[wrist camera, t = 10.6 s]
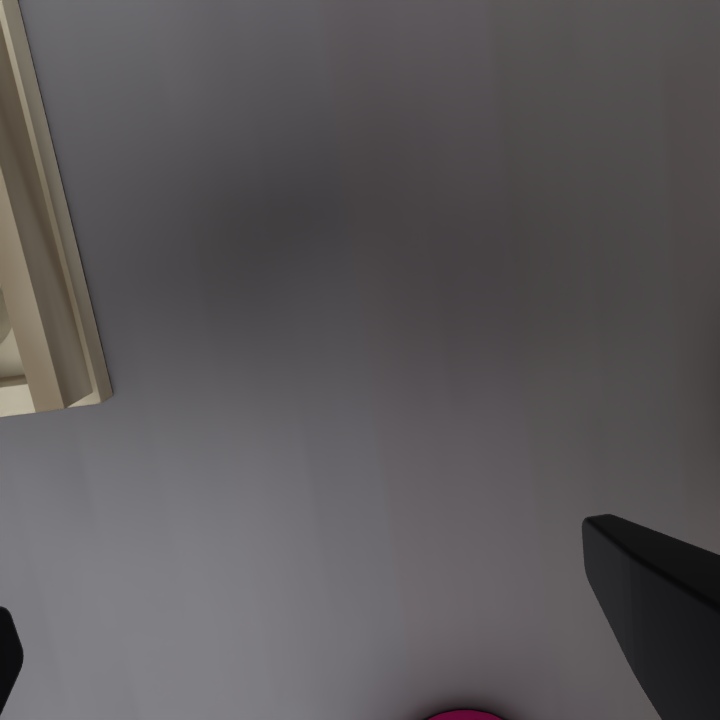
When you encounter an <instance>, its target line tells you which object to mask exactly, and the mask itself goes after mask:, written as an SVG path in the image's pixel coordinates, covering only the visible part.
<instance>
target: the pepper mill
mask: <svg viewBox="0 0 720 720" xmlns="http://www.w3.org/2000/svg"><path fill="white" fill-rule="evenodd" d="M428 720H502V719H500V718H498V717H496V716H494V715H492V714H489V713H484V712H479V711H474V710H456V711H451V712H446V713H441V714H438V715H436V716H434V717H432V718H430V719H428Z"/></svg>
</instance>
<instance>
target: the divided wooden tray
mask: <svg viewBox="0 0 720 720" xmlns="http://www.w3.org/2000/svg"><path fill="white" fill-rule="evenodd" d="M0 285H1V289H2V292H3V296H4V300H5V303H6V307H7V310H8V314H9V318H10V321H11V325H12V328H11V330H10V332H9V334H8V335H7V337H6V338H5V339H4V341H3V342H2V343H1V344H0V417H4V416H12V415H20V414H27V413H35V412H43V411H51V410H59V409H65V408H67V407H75V406H82V405H90V404H98V403H102V402H104V401H105V400H107V399H108V398H110V397H112V396H113V393H112V389H111V384H110V380H109V376H108V372H107V368H106V364H105V360H104V356H103V351H102V347H101V343H100V339H99V335H98V331H97V327H96V322H95V318H94V314H93V310H92V306H91V302H90V298H89V293H88V289H87V285H86V281H85V277H84V273H83V269H82V264H81V260H80V256H79V252H78V248H77V244H76V240H75V236H74V231H73V227H72V223H71V219H70V215H69V211H68V207H67V202H66V198H65V194H64V190H63V186H62V182H61V178H60V173H59V169H58V165H57V161H56V157H55V153H54V149H53V145H52V140H51V136H50V132H49V128H48V124H47V120H46V116H45V111H44V107H43V103H42V99H41V95H40V91H39V87H38V82H37V78H36V74H35V70H34V66H33V62H32V58H31V53H30V49H29V45H28V41H27V37H26V33H25V29H24V25H23V20H22V16H21V12H20V8H19V4H18V0H0Z"/></svg>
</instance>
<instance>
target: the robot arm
mask: <svg viewBox="0 0 720 720" xmlns="http://www.w3.org/2000/svg"><path fill="white" fill-rule="evenodd" d="M582 538H583V553H584V566H585V571H586V575H587V578H588V581H589V583H590V585H591V587H592V589H593V591H594V593H595V595H596V598H597V600H598V602H599V604H600V606H601V608H602V610H603V612H604V614H605V616H606V618H607V620H608V622H609V624H610V626H611V628H612V630H613V632H614V634H615V636H616V639H617V641H618V643H619V645H620V647H621V649H622V651H623V653H624V655H625V657H626V659H627V661H628V663H629V665H630V667H631V669H632V671H633V673H634V675H635V676H636V678H637V680H638V681H639V683H640V685H641V687H642V688H643V690H644V692H645V693H646V695H647V696H648V698H649V700H650V701H651V703H652V705H653V706H654V708H655V709H656V711H657V713H658V714H659V716H660V717H661V719H662V720H720V555H718V554H715V553H713V552H710V551H707V550H705V549H702V548H699V547H697V546H694V545H691V544H689V543H686V542H684V541H681V540H678V539H676V538H673V537H670V536H668V535H665V534H662V533H660V532H657V531H654V530H652V529H649V528H646V527H644V526H641V525H638V524H636V523H633V522H631V521H628V520H625V519H623V518H620V517H617V516H615V515H612V514H604V515H597V516H591V517H587V518H585V519H584V520H583V523H582ZM23 656H24V655H23V648H22V645H21V642H20V639H19V636H18V633H17V631H16V628H15V625H14V622H13V619H12V616H11V614H10V612H9V611H8V610H7V609H6V608H4V607H2V606H0V715H1V713H2V711H3V708H4V706H5V704H6V702H7V699H8V697H9V695H10V693H11V690H12V688H13V686H14V684H15V681H16V679H17V677H18V675H19V672H20V670H21V668H22V664H23Z"/></svg>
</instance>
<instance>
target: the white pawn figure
mask: <svg viewBox="0 0 720 720" xmlns="http://www.w3.org/2000/svg"><path fill="white" fill-rule="evenodd" d="M11 328H12V325H11V321H10V318H9V314H8V310H7V307H6V303H5V300H4V296H3V292H2V289H1V285H0V344H1V343H2V342H3V341H4V339H5V338H6V337H7V335H8V334H9V332H10V330H11Z"/></svg>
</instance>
